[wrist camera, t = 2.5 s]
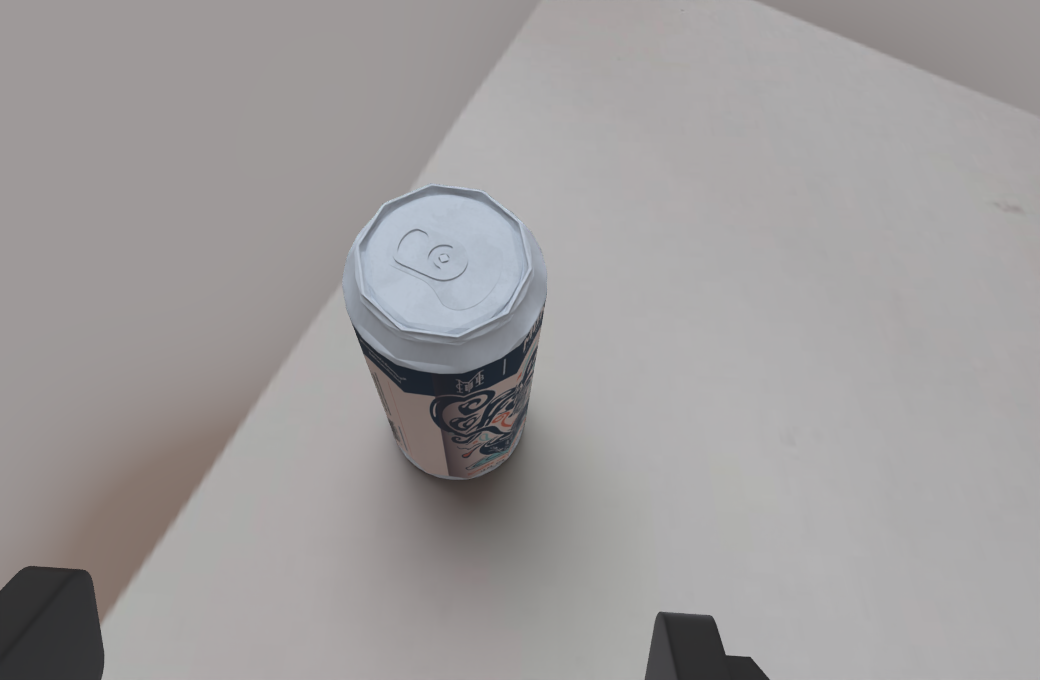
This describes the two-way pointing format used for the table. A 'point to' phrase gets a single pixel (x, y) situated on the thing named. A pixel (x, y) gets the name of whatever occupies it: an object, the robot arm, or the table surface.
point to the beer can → (449, 324)
